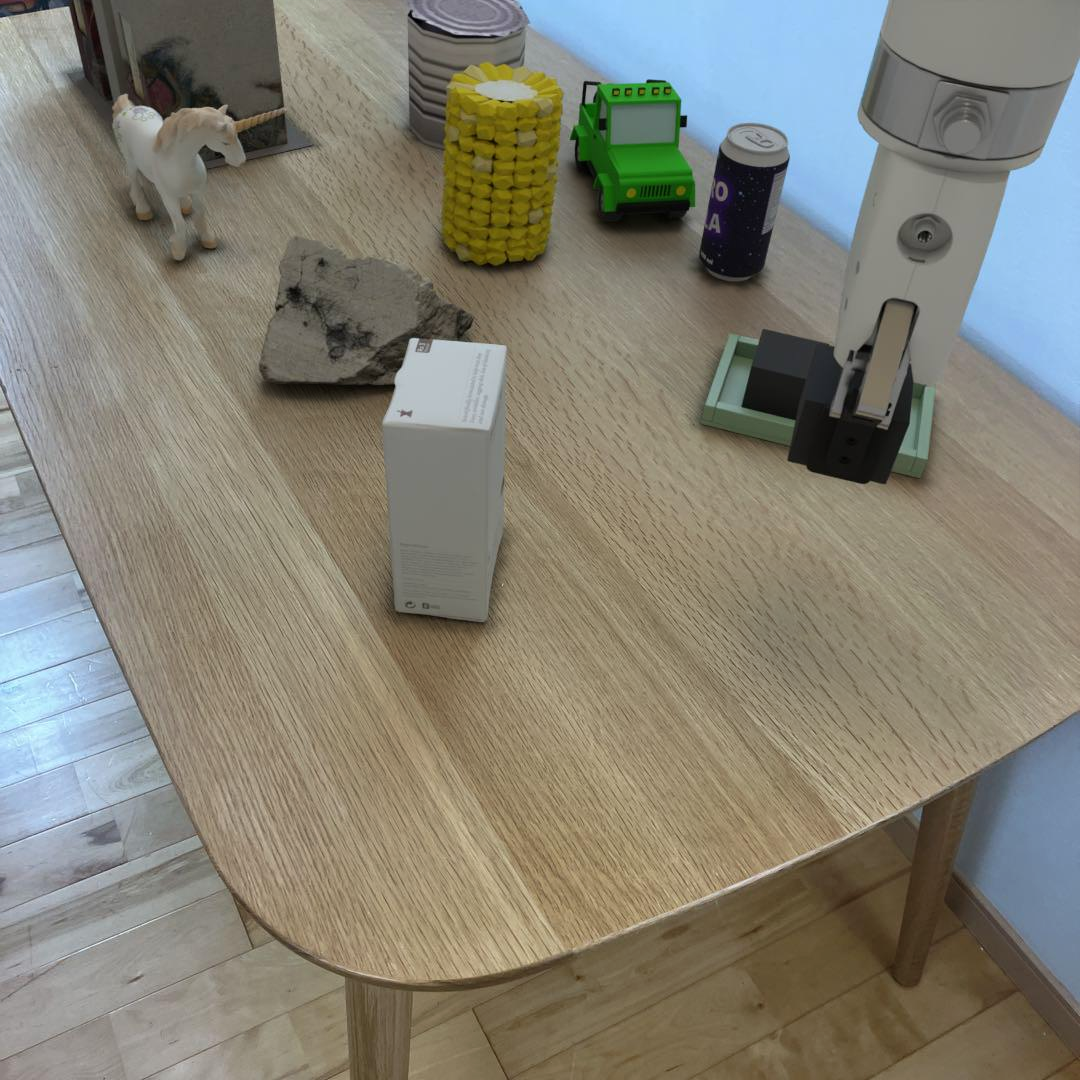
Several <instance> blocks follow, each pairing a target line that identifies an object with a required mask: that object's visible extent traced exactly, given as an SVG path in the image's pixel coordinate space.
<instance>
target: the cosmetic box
mask: <svg viewBox="0 0 1080 1080" xmlns="http://www.w3.org/2000/svg"><path fill="white" fill-rule="evenodd" d="M507 355H508V346H507V345H505V344H495V343H484V342H483V343H482V342H469V341H460V340H459V341H446V340H432V339H418V338H412V339H410V340H409V344H408V347H407V351H406V355H405V358H404V361H403V365H402V368H401V369H400V370H399V371H398V372H397V374H396V376H395V384H394V386H395V387H394V390H393V394H392V397H391V400H390V403H389V405H388V408H387V410H386V413H385V414H384V417H383V419H382V421H381V431H382V447H383V461H384V474H385V475H384V476H385V488H386V489H385V491H386V503H387V517H388V519H387V520H388V532H389V533H388V534H389V547H390V558H391V559H390V560H391V573H392V574H391V575H392V587H393V588H392V589H393V599H394V601H393V603H394V610H395V611H396V612H398V613H405V614H416V615H417V614H418V615H425V616H434V617H441V618H446V619H452V620H453V619H454V620H461V621H470V622H478V623H485V622H486V621H487V620H488V618H489V609H490V608H489V606H490V599H491V598H490V596H491V590H492V582H493V577H494V571H495V567H496V562H497V557H498V552H499V548H500V545H501V542H502V538H503V534H504V511H505V509H504V507H505V466H506V465H505V461H506V459H505V458H506V456H505V455H506V385H507V384H506V383H507V358H508V357H507Z"/></svg>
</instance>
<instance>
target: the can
mask: <svg viewBox="0 0 1080 1080" xmlns="http://www.w3.org/2000/svg"><path fill="white" fill-rule="evenodd" d="M406 3H407V6H408V8H409V12H408V14H407V19H406V20H407V61H408V67H407V68H408V108H409V109H408V110H409V112H408V113H409V115H408V116H409V130H410V131H411V132H412V133H413V134H414V135H415V136H416V137H417V138H418V139H419V141H421V143H422V144H423V145H426V146H429V147H433V148H437V149H438V150H443V151H445V146H444V143H443V141H444V139H445V138H446V132H445V129H444V127H445V125H446V123H447V122H446V113H445V109H446V105H447V101H448V99H447V90H446V87H447V86H448V85H449V84H450V81H451V79H452V77H453V75H454V74H461V73H463V72H464V71H465V70H466V69H467V68H468V67H469V66H470V65H473V66H476V67H478V66H479V64H482V63H485V62H489V63H491V64H492V65H494V66H495V67H497V66H499V65H502V64H505V65H507V66H509V67H510V68H512V69H513V70H514V69H516V68H519V67H521V66H525V55H526V54H525V53H526V39H527V38H526V37H527V26H528V25H530V24H531V21H530V19H529V17H528V15H527V14H526V12H525V10H524V9H523V6H522V5H521V3H520V1H517V0H406Z"/></svg>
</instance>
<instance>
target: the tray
mask: <svg viewBox="0 0 1080 1080" xmlns="http://www.w3.org/2000/svg"><path fill="white" fill-rule="evenodd" d="M759 340H760V339H757V338H753V337H748V336H744V335H739V334H735V333H729V334H728V337H727V340H726V341H725V345H724V348H723V350H722V354H721V357H720V360H719V363H718V365H717V369H716V371H715V374H714V377H713V379H712V382H711V385H710V388H709V390H708V394H707V396H706V397H707V398H706V400H705V403H704V405H703V406H704V407H703V411H702V415H701V420H700V424H701V425H705V426H708V427H711V428H716V429H720V430H725V431H729V432H732V433H736V434H740V435H744V436H747V437H752V438H755V439H761V440H764V441H768V442H772V443H776V444H781V445H784V446H788V447H790V444H791V440H792V435H793V430H794V425H795V420H791V419H787V418H783V417H779V416H775V415H771V414H767V413H763V412H759V411H755V410H750V409H746V408H742V407H741V406H742V402H743V398H744V394H745V390H746V386H747V382H748V378H749V374H750V370H751V366H752V362H753V359H754V356H755V353H756V350H757V346H758V343H759ZM936 389H937V384H935V385H934V386H931V387H926V386H924V384H920V383H915V382H914V383H913V394H912V404H911V415H910V424H909V427H908V429H907V432H906V434H905V437H904V440H903V442H902V445H901V447H900V450H899V452H898V455H897V457H896V460H895V462H894V465H893V468H892V470H891V472H893V473H896V474H900V475H903V476H909V477H912V478H917V479H921V477H922V474H923V472H924V470H925V468H926V465H927V463H928V461H929V453H930V445H931V443H930V442H931V433H932V425H933V416H934V406H935V399H936V398H935V397H936Z"/></svg>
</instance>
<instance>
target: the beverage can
mask: <svg viewBox="0 0 1080 1080" xmlns="http://www.w3.org/2000/svg"><path fill="white" fill-rule="evenodd" d="M788 145H789V137H788V136H787V134H785V133H784V132H783V131H781V130H780V129H779V128H776V127H774V126H771V125H769V124H764V123H758V122H742V123H737V124H734V125H732V126H730V128H728V130H727V131H726V136H725V137H724V138H723V140H722V141H721V142H720V144H719V146H718V152H717V156H716V163H715V167H714V172H713V178H712V183H711V189H710V195H709V198H708V204H707V210H706V216H705V221H704V226H703V232H702V236H701V242H700V248H699V252H698V258H699V261H700V262H701V263H702V265H703V266H704V267H705V268H706V270H707V272H708V273H709V274H710V275H712V276H713V277H715V278H717V279H719V280H722V281H726V282H735V283H736V282H743V281H746V280H749V279H750V278H752V277H753V276H755V275H757V274H758V273H761V271H762V270H763V269H764V267H765V264H766V259H767V255H768V252H769V247H770V243H771V239H772V235H773V230H774V227H775V222H776V218H777V214H778V209H779V205H780V201H781V197H782V193H783V190H784V189H783V188H784V183H785V180H786V175H787V171H788V167H789V165H790V164H789V163H790V158H791V155H790V152H789V148H788Z"/></svg>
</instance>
